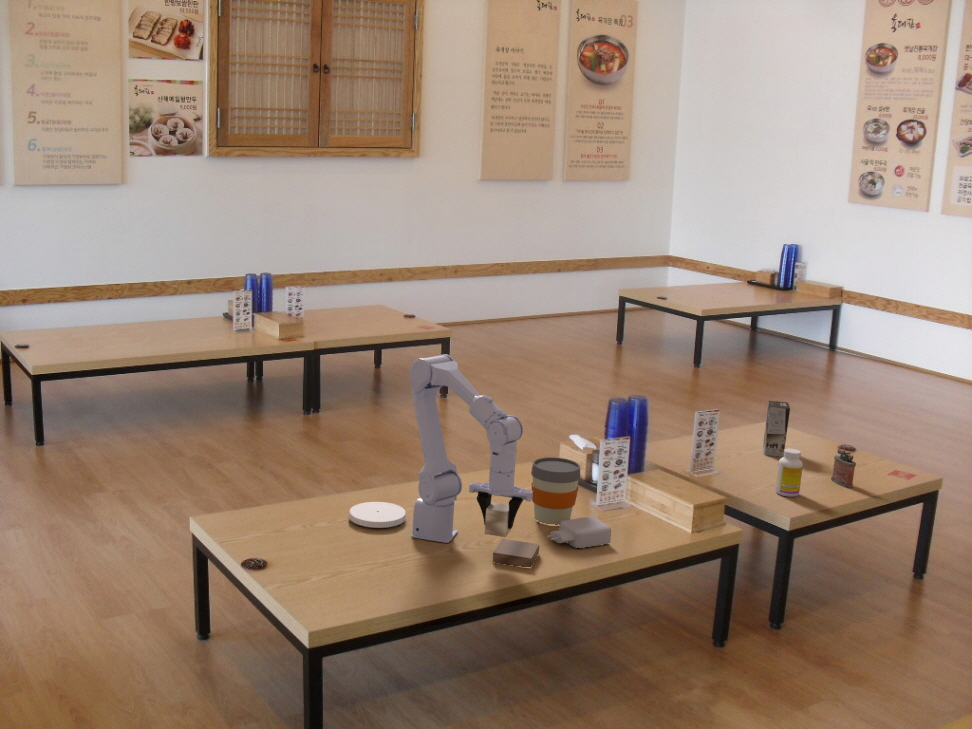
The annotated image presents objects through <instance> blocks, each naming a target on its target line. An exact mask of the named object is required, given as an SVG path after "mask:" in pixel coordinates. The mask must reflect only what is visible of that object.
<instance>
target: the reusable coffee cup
mask: <svg viewBox="0 0 972 729" xmlns="http://www.w3.org/2000/svg"><path fill="white" fill-rule="evenodd" d="M530 472H531V475H532V476H531V477H532V482H531V483H530V484H531V485H530V486H531V491H533V496H532V500H531V502H532V503H533V511H534V520H535V519H536V520H538V521H539V522H542V523H546V524H555V525H558V524H559V525H560V522H561V521H564V520H571V517H572V511H573V507H574V506H575V505H576V503H577V502H576V501H577V497H578V492H579V486H578V485H579V480H580V479H581V465H580V464H579V463H578V462H576V461H574V460H572V459H568V458H564V457H556V456H555V457H552V456H550V457H549V456H548V457H540V458H537V459H535V460H533V461H532V467H531V471H530Z"/></svg>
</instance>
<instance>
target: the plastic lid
mask: <svg viewBox="0 0 972 729" xmlns="http://www.w3.org/2000/svg"><path fill="white" fill-rule="evenodd" d="M348 514H349V515H348V517H349V520H350V521H351V522H352V523H354V524H356V525H358V526H362V527H366V528H373V529H375V528H377V529H378V528H379V529H380V528H381V529H383V528H391V527H397V526H398V525H401V524H403V523H404V522H405V521H406V518H407V515H406V514H407V512H406V510H405V509H404V508H403V507H402V506H400V505H398V504H396V503H391V502H386V501H384V502H383V501H369V502H361V503H357V504H355V505H353V506H351V507H350V509H349V512H348Z"/></svg>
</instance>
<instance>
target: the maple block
mask: <svg viewBox="0 0 972 729" xmlns="http://www.w3.org/2000/svg"><path fill="white" fill-rule="evenodd" d="M508 520H509V504H506V503H499V502H493V501H491V504H490V505H489V506H488V508H487V509H486V519H485V525H484V535H489V536H495V537H501V538H506V537H508V535H509V534H510V532H511V531H512V528H511V529H508Z"/></svg>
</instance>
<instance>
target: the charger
mask: <svg viewBox="0 0 972 729" xmlns="http://www.w3.org/2000/svg"><path fill="white" fill-rule="evenodd" d="M546 538H550V540H551V541H555V542H556V543H558V544H562V543H563V544H564V543H567V542H568V543H569V544H568V543H567V544H568V545H569V546H571V545H572V546H571V547H572V548H575V549H577V548H583V549H586V548H585V547H589V548H592V547H591V546H595V547H597V546H596V545H601V544H607V543H610V544H611V539H612V529H611V527H610V526H609V525H608V524H607V523H605V522H603V521H601V520H599V519H598V518H596V517H595V516H585V517H580V518H579V517H578V518H572V519H571V518H570V520H564V521H561V522H560V526H559V528H558V530H553V531H550V534H549V535H546ZM607 545H608V544H607ZM601 546H602V545H601Z"/></svg>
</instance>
